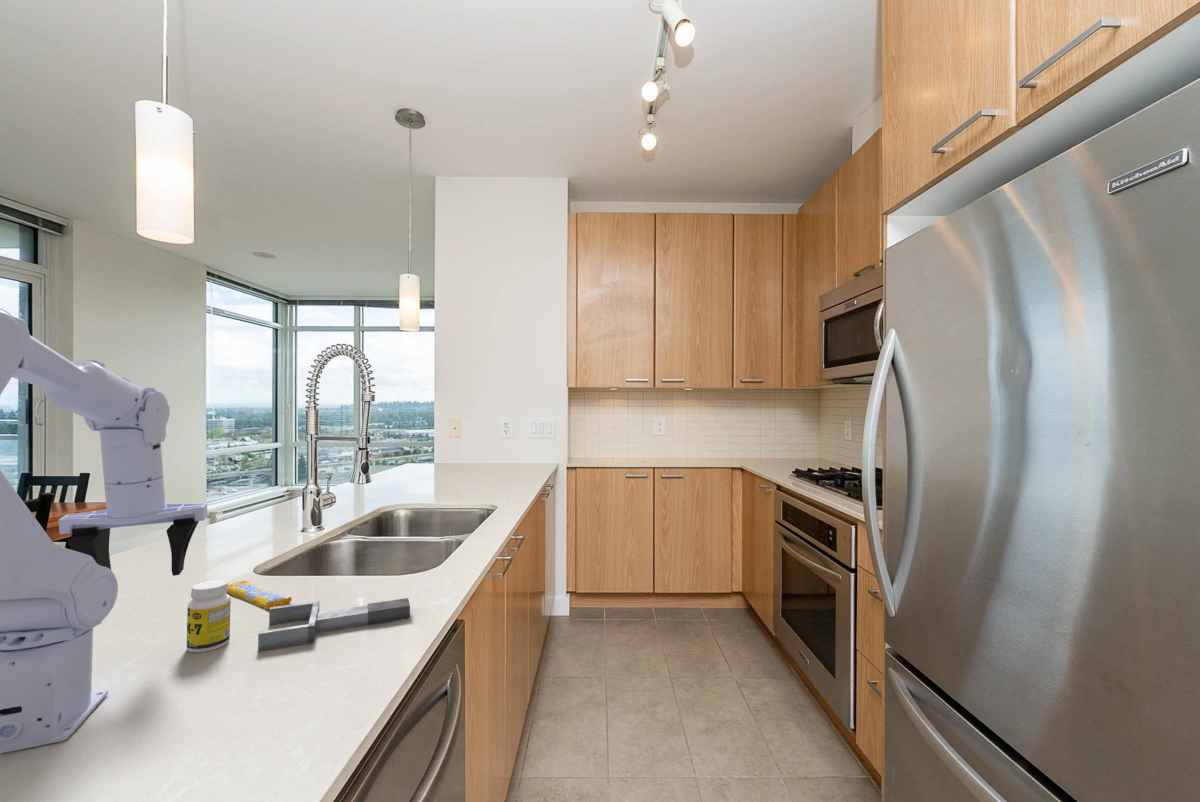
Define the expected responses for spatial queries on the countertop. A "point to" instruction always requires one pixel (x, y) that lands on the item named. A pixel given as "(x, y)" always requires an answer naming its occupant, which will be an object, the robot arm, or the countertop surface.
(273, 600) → the candy bar
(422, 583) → the countertop surface
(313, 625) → the open-end wrench
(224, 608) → the supplement bottle
